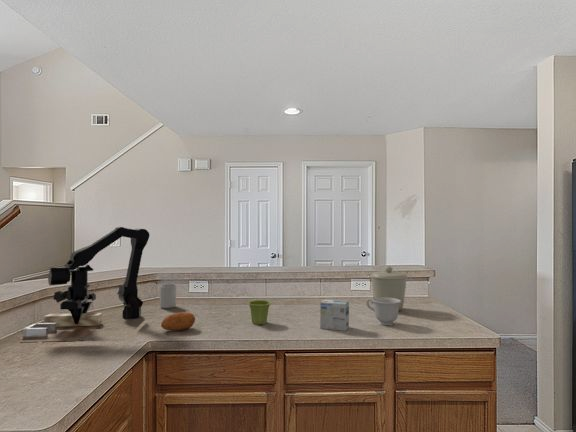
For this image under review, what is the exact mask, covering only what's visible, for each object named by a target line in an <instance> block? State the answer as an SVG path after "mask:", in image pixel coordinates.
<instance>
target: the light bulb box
mask: <svg viewBox="0 0 576 432" xmlns="http://www.w3.org/2000/svg"><path fill="white" fill-rule="evenodd" d="M319 305H320V311H319V312H320V314H319V315H320V322H319V325H320V326H319V328H320V329H322V330H334V331H342V332H343V331H345V332H346V331H347V330H348V329H349V328H350V306H349V305H350V301H349V300H337V299H336V300H335V299H323V300H321V301H320V304H319Z"/></svg>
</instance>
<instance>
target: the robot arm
mask: <svg viewBox="0 0 576 432" xmlns="http://www.w3.org/2000/svg"><path fill="white" fill-rule="evenodd" d="M122 237H123V238H129V239H130V246H131V252H130V256H129V260H128V266H127V272H126V275H125V281H124V283H123V284H119V286H118V292H117V293H116V294H117V295H118V299H119V301H120V302H122V304H123V306H124V307H123V309H122V319H126V320H132V319H139V318H141V316H142V307H143V304H144V301H143V300H141V299H140V297H138V295H139V294H138V293H139V292H138V291H139V290H138V285H137V281H138V276H139V272H140V267H141V266H140V265H141V261H142V255H143V251H144V249H145V247H146V246H147V244H148V241H149V238H150V232H149V231H148V230H147V229H145V228H135V229H133V228H127V227H123V226H117V227H115V228H114V229H113V230H111V231H110V232H109V233H106V234H105V235H104V236H102V237H101V238H99V239H98V240H96V241H95V242H93V243H92V244H89V245H87V246H84V247H81V248H79V249H77V250H74V251H72V253H71V254H70V256H69V260H68V261H67V262H66V263H65V265H64V266H59V267H57V266H56V267H55V266H54V267H53V266H50V267H49V272H48V276H47V280H48V285H49V286H59V285H67V284H68V283H69V282H70V284H71V285H70V286H68V288H67V290H65V291H62V290H58V291H56V292H54V295H53V298H52V299H53V300H54V301H56V303H57V304H58V303H60V302H61V303H60V305H59V306H60V310H67V311H69V312H70V314H72V317H73V320H74V323H75V324H78V323H79V320H80V318H81V315H82V313H88V311H89V309H90V307H91V305H92V304H93V301H94V302H95V300H96V299H97V295H96V293H94V292H88V288H90V284H89V283H88V277H89V275H88V273H89V272H93V271H94V268H93V267H91V266H90V264H88V263H89V262H91V261H92V260H93V258H94V257H96V255H97V254H99V252H101V251H103V250H104V249H106V248H107V247H108V246H110V245H112V244H113V243H115V242H116V241H118V240H120V239H121V238H122ZM89 300H91V301H89Z"/></svg>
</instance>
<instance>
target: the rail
mask: <svg viewBox="0 0 576 432" xmlns="http://www.w3.org/2000/svg"><path fill="white" fill-rule="evenodd" d="M102 322H103V312H87V313H82V315H81V318H80V320H79V323H78V324H75V323H74V320H73V317H72V314H71V313H48V314H47V315H44V316H43V323H57V327H60V326H98V325H100V324H101V323H102ZM102 324H103V323H102ZM102 324H101V325H102ZM101 325H100V326H101ZM98 327H99V326H98Z"/></svg>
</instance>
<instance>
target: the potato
mask: <svg viewBox="0 0 576 432" xmlns="http://www.w3.org/2000/svg"><path fill="white" fill-rule="evenodd" d="M195 323H196V317H195V314H193V313H191V312H186V311H184V312H183V311H182V312H181V311H180V312H175V313H172V314H169V315H168V316H166V317H164V318H163V320H162V322H161V323H160V324H161V325H160V326H161V328H162V329H163V330H166V331H183V330H189V329H190V328H192V327H193V326H194V324H195Z"/></svg>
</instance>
